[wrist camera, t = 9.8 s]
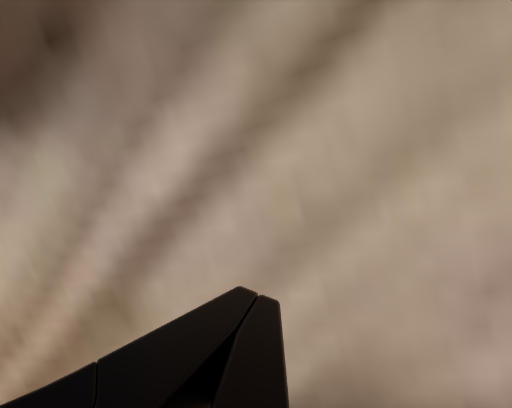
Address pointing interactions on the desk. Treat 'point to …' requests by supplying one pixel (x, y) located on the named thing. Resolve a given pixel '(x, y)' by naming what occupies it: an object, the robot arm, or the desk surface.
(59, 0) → the desk surface
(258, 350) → the robot arm
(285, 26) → the desk surface
